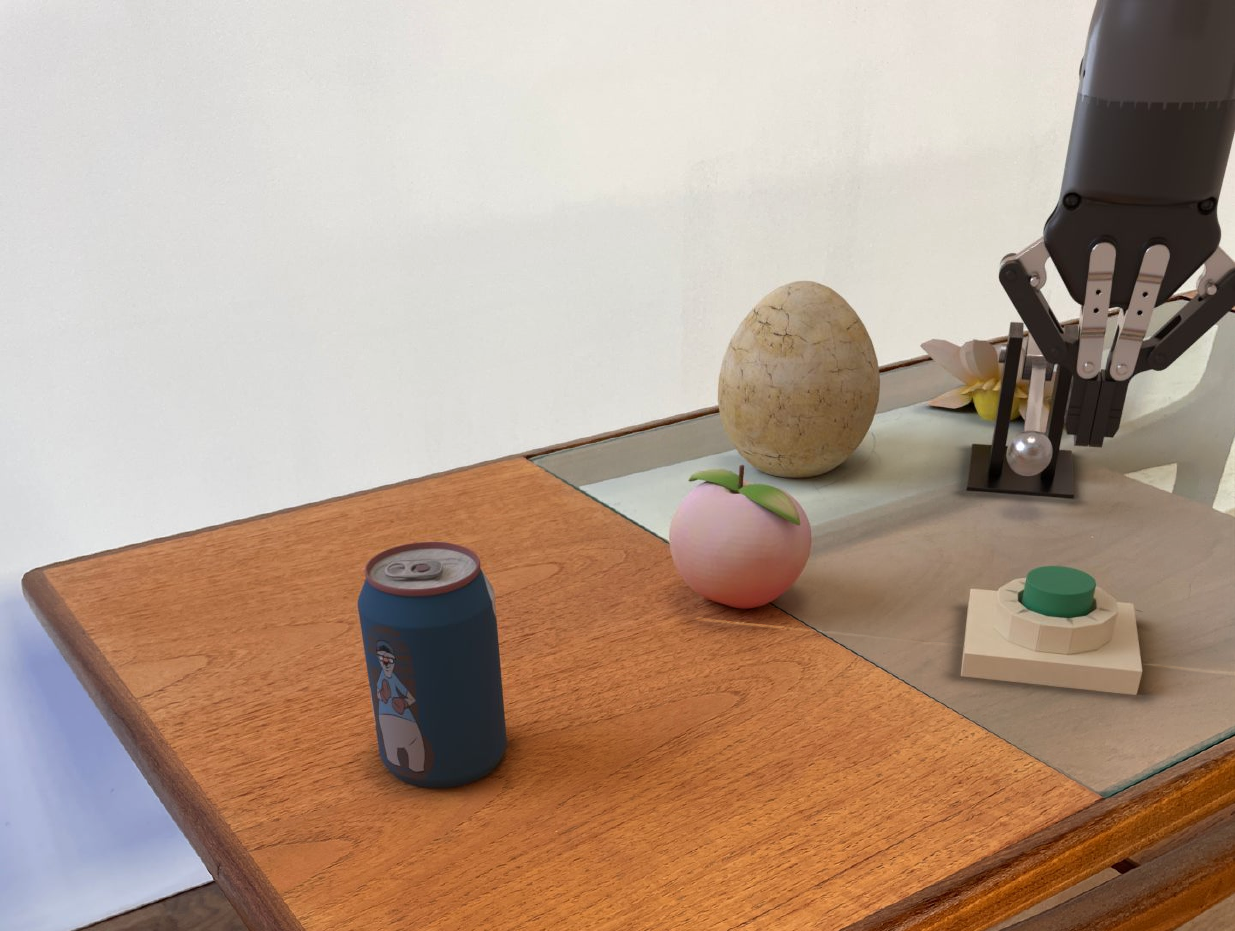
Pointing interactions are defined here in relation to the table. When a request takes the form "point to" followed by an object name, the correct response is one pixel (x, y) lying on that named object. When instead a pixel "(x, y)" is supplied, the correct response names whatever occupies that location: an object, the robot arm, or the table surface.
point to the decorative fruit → (739, 539)
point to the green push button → (1059, 592)
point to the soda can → (433, 664)
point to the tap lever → (1032, 417)
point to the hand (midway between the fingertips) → (1087, 442)
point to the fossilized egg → (799, 382)
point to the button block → (1051, 643)
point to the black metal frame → (991, 460)
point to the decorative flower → (981, 379)
